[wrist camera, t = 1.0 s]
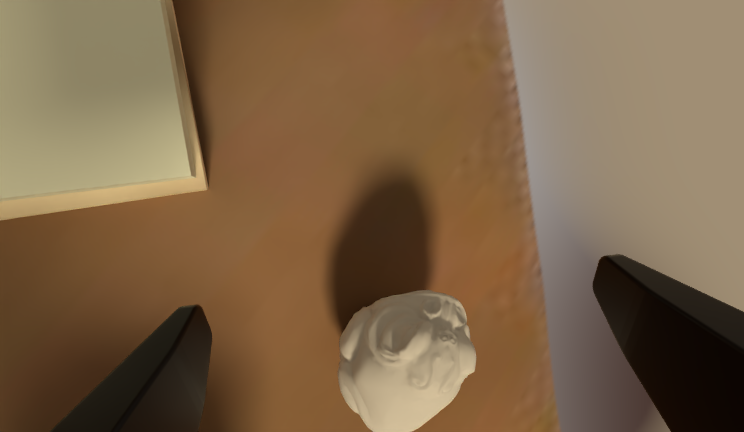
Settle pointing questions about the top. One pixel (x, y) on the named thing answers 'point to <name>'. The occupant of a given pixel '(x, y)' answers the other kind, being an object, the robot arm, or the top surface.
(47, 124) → the upper block
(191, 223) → the top surface
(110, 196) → the lower block
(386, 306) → the frog figurine
